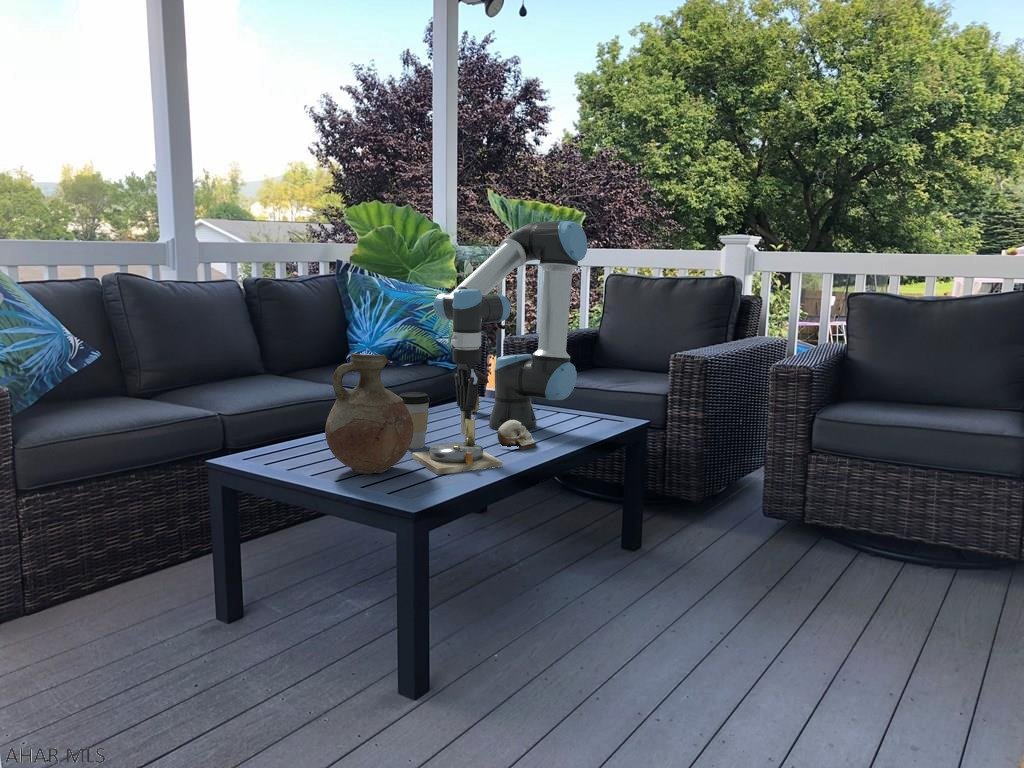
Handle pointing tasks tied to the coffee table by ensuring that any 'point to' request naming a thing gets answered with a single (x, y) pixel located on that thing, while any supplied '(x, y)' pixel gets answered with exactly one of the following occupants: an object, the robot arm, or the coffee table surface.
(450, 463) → the base plate
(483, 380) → the decorative mushroom
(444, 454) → the turntable
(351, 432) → the jug
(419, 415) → the coffee cup
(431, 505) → the coffee table surface
